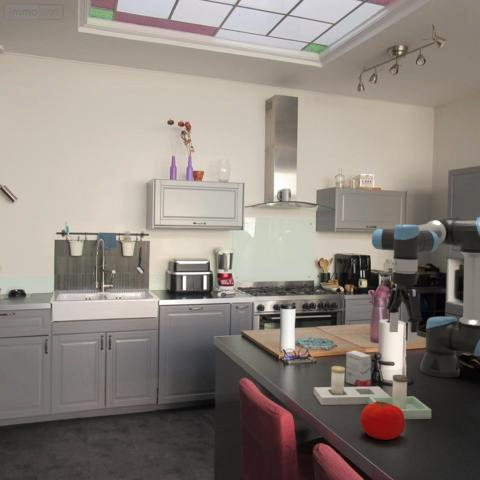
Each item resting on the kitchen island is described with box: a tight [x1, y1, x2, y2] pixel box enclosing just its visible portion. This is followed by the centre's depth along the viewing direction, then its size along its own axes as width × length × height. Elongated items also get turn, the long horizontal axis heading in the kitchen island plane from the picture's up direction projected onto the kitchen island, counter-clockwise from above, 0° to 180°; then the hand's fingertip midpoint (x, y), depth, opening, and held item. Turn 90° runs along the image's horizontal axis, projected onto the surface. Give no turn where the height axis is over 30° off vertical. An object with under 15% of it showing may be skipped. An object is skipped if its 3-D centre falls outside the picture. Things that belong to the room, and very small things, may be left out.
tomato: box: [360, 401, 406, 441], centre depth 143 cm, size 11×13×10 cm
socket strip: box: [313, 365, 391, 406], centre depth 173 cm, size 24×10×11 cm, turn 97°
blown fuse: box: [391, 374, 409, 409], centre depth 162 cm, size 5×5×11 cm
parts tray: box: [368, 395, 432, 420], centre depth 162 cm, size 16×12×3 cm
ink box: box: [345, 350, 372, 387], centre depth 188 cm, size 9×5×12 cm, turn 33°
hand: (402, 336), depth 162 cm, fingers open, 13 cm apart
